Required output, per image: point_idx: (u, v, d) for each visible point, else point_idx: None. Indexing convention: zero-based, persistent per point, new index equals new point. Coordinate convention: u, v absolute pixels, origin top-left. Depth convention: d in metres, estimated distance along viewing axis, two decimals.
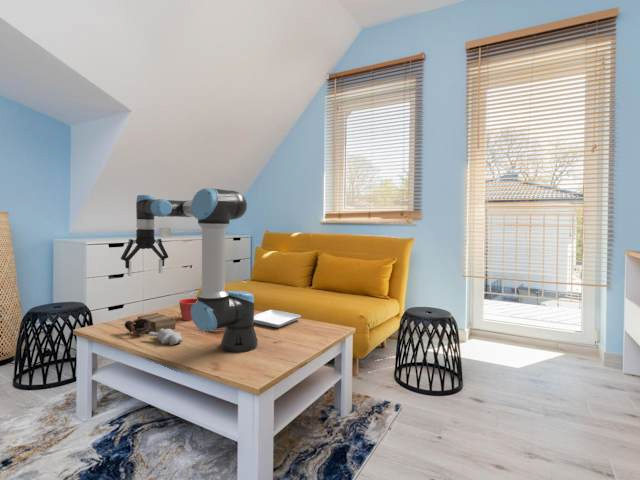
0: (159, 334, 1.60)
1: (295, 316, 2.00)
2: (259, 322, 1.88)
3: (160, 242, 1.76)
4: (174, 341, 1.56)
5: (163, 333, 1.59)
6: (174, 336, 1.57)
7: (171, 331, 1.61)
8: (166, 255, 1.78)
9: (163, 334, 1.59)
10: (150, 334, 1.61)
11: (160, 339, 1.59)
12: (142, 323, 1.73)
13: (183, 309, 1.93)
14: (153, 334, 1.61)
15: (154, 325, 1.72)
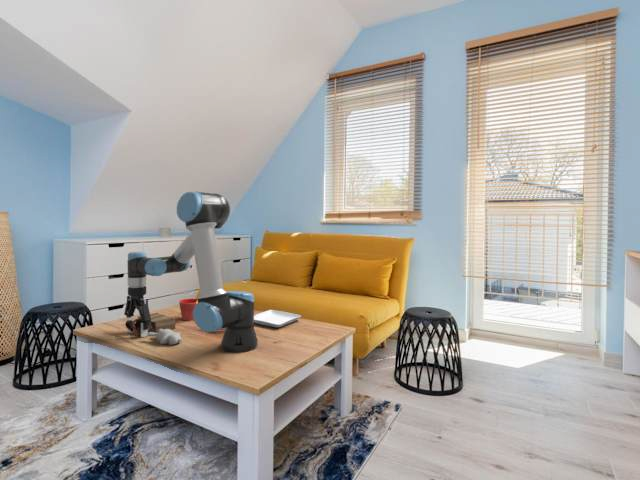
0: (158, 334, 1.59)
1: (295, 316, 2.00)
2: (259, 322, 1.88)
3: (141, 303, 1.64)
4: (173, 341, 1.56)
5: (162, 333, 1.58)
6: (173, 336, 1.57)
7: (170, 331, 1.61)
8: (144, 319, 1.63)
9: (162, 334, 1.58)
10: (149, 334, 1.60)
11: (159, 339, 1.59)
12: None
13: (183, 309, 1.93)
14: (152, 334, 1.60)
15: (154, 325, 1.72)
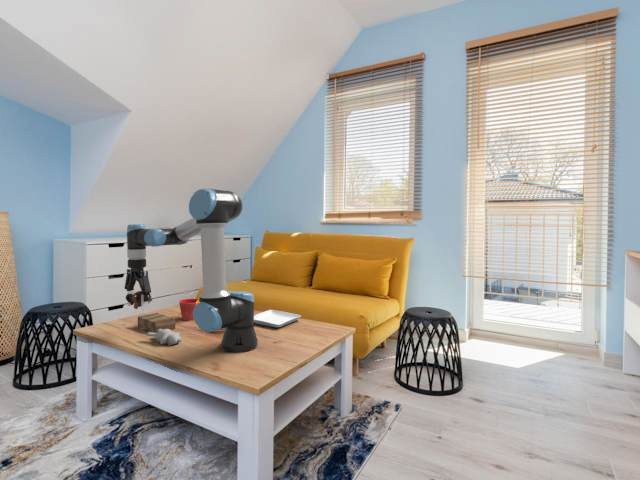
0: (158, 334, 1.59)
1: (295, 316, 2.00)
2: (259, 322, 1.88)
3: (141, 275, 1.64)
4: (173, 341, 1.56)
5: (162, 333, 1.58)
6: (173, 336, 1.57)
7: (170, 331, 1.61)
8: (144, 290, 1.63)
9: (162, 334, 1.58)
10: (148, 334, 1.60)
11: (159, 339, 1.59)
12: None
13: (183, 309, 1.93)
14: (151, 334, 1.60)
15: (154, 325, 1.72)
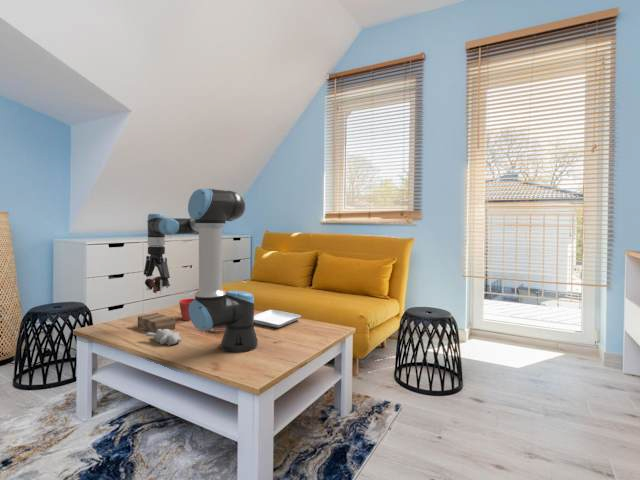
0: (157, 334, 1.59)
1: (295, 316, 2.00)
2: (259, 322, 1.88)
3: (161, 261, 1.74)
4: (173, 341, 1.56)
5: (161, 333, 1.58)
6: (173, 336, 1.57)
7: (169, 331, 1.61)
8: (163, 275, 1.73)
9: (161, 334, 1.58)
10: (148, 334, 1.60)
11: (158, 339, 1.59)
12: None
13: (183, 309, 1.93)
14: (151, 334, 1.60)
15: (154, 325, 1.72)
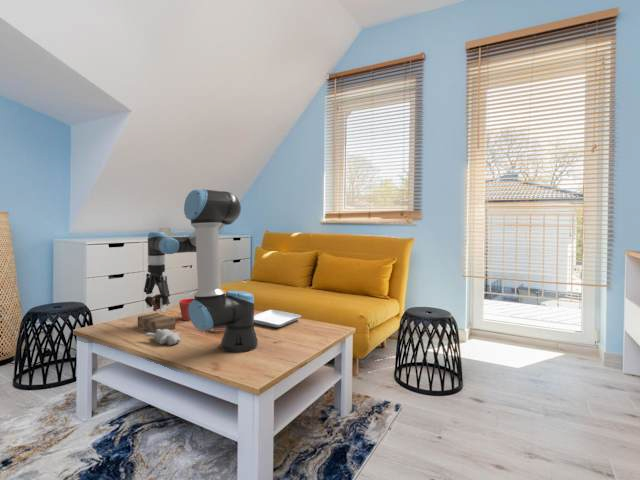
0: (156, 334, 1.59)
1: (295, 316, 2.00)
2: (259, 322, 1.88)
3: (161, 280, 1.74)
4: (172, 341, 1.56)
5: (161, 333, 1.58)
6: (172, 336, 1.57)
7: (169, 331, 1.61)
8: (163, 294, 1.74)
9: (161, 334, 1.58)
10: (147, 335, 1.60)
11: (158, 339, 1.59)
12: None
13: (183, 309, 1.93)
14: (150, 335, 1.60)
15: (154, 325, 1.72)
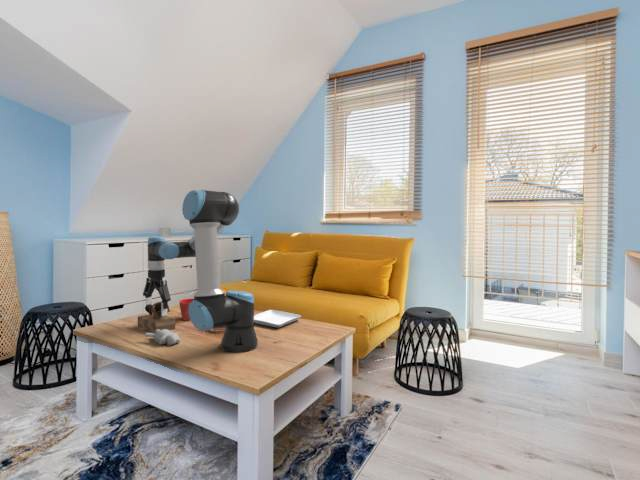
0: (156, 335, 1.59)
1: (295, 316, 2.00)
2: (259, 322, 1.88)
3: (161, 284, 1.75)
4: (172, 341, 1.56)
5: (160, 333, 1.58)
6: (172, 336, 1.57)
7: (168, 331, 1.60)
8: (164, 298, 1.73)
9: (160, 334, 1.58)
10: (146, 335, 1.59)
11: (157, 340, 1.59)
12: None
13: (183, 309, 1.93)
14: (150, 335, 1.59)
15: (154, 325, 1.72)
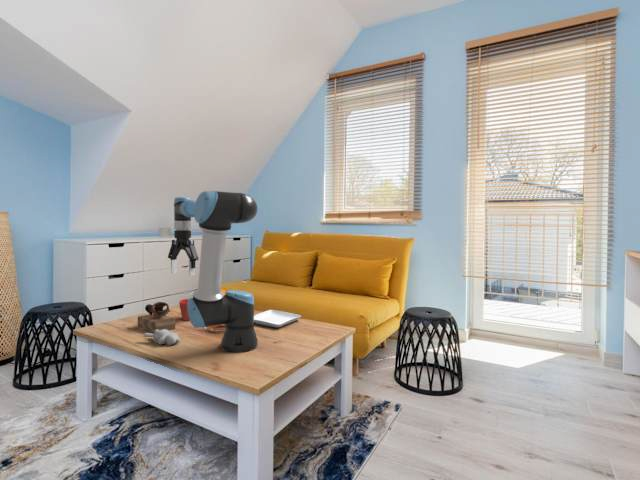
0: (155, 335, 1.59)
1: (295, 316, 2.00)
2: (259, 322, 1.88)
3: (189, 243, 1.75)
4: (172, 341, 1.56)
5: (160, 334, 1.58)
6: (171, 336, 1.57)
7: (167, 331, 1.60)
8: (193, 257, 1.73)
9: (160, 335, 1.58)
10: (146, 335, 1.59)
11: (156, 340, 1.58)
12: (161, 306, 1.84)
13: (183, 309, 1.93)
14: (149, 335, 1.59)
15: (154, 325, 1.72)
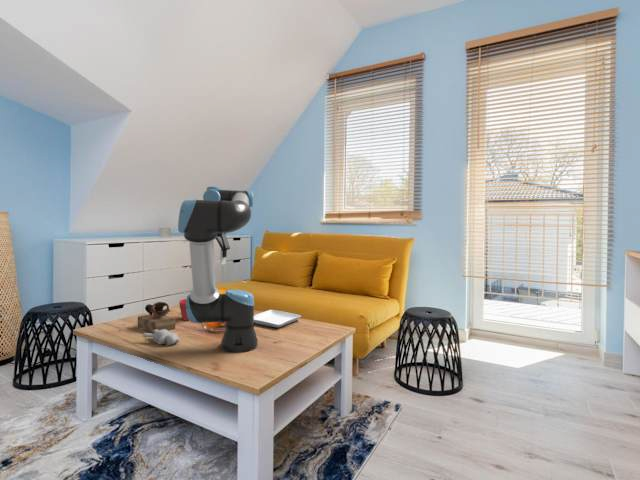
0: (155, 335, 1.58)
1: (295, 316, 2.00)
2: (259, 322, 1.88)
3: (220, 233, 1.76)
4: (171, 341, 1.56)
5: (159, 334, 1.58)
6: (171, 336, 1.57)
7: (167, 331, 1.60)
8: (224, 246, 1.75)
9: (159, 335, 1.58)
10: (145, 335, 1.59)
11: (156, 340, 1.58)
12: (161, 306, 1.84)
13: (183, 309, 1.93)
14: (148, 335, 1.59)
15: (154, 325, 1.72)
